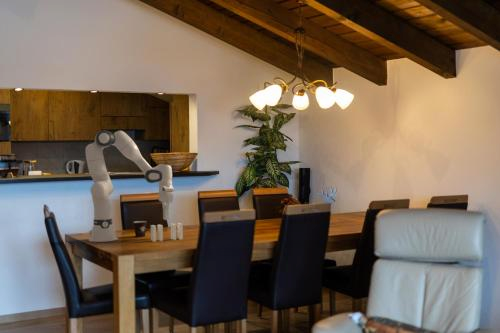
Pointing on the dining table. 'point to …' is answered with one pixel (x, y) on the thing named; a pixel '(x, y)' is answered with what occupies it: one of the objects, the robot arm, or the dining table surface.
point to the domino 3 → (165, 212)
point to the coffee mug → (140, 228)
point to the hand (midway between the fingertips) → (165, 208)
